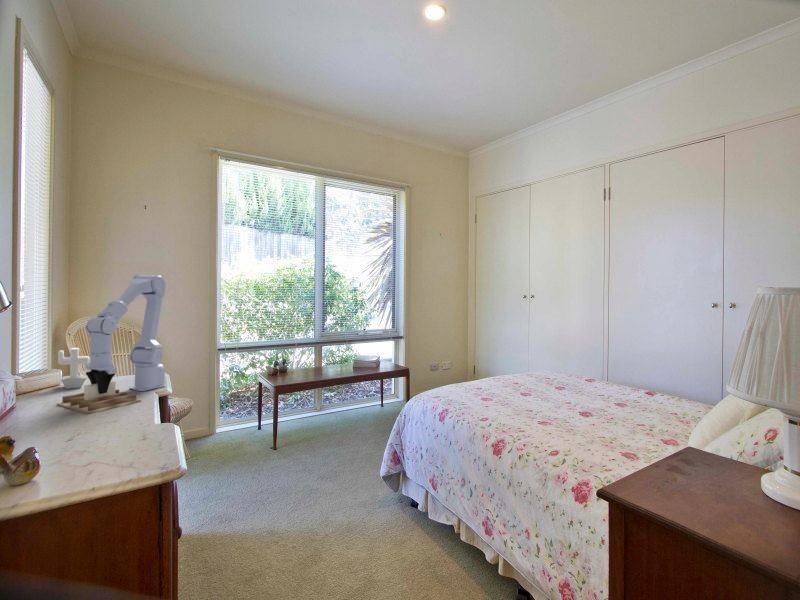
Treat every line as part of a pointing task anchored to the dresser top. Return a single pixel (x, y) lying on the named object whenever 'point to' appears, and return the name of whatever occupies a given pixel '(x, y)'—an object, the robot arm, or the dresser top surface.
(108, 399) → the dish rack
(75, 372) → the figurine
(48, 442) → the dresser top surface
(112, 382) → the cream slab
